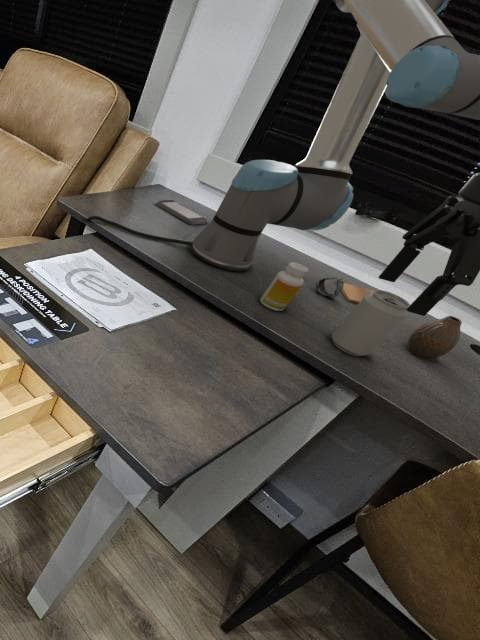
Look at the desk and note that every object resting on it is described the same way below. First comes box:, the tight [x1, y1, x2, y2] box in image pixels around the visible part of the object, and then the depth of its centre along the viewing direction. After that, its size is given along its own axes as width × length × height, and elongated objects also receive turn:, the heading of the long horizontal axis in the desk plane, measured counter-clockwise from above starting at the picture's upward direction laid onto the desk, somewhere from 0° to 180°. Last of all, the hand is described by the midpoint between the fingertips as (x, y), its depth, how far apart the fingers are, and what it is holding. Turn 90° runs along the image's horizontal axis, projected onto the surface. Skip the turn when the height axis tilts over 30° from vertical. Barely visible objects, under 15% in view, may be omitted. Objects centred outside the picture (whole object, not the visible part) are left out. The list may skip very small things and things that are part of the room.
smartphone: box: [156, 199, 209, 226], centre depth 139 cm, size 7×1×15 cm
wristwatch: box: [315, 276, 345, 298], centre depth 110 cm, size 3×5×5 cm
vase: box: [407, 315, 463, 359], centre depth 94 cm, size 7×7×9 cm
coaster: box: [341, 282, 375, 305], centre depth 114 cm, size 10×10×1 cm
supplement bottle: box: [259, 261, 309, 312], centre depth 100 cm, size 5×5×10 cm
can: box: [331, 289, 411, 357], centre depth 90 cm, size 8×8×12 cm
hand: (399, 295), depth 85 cm, fingers open, 13 cm apart
